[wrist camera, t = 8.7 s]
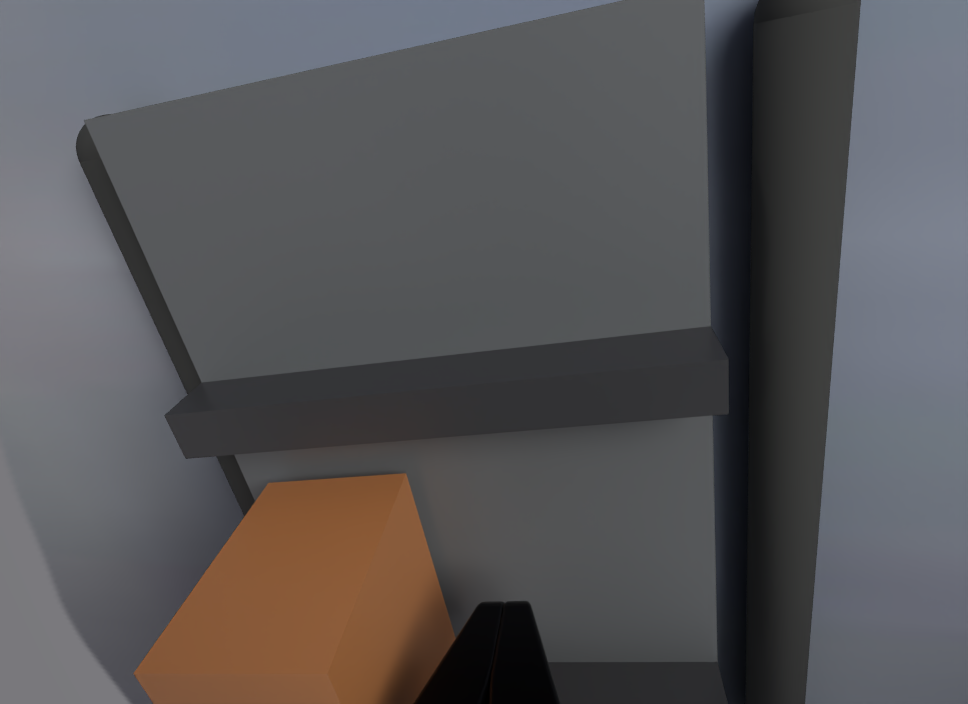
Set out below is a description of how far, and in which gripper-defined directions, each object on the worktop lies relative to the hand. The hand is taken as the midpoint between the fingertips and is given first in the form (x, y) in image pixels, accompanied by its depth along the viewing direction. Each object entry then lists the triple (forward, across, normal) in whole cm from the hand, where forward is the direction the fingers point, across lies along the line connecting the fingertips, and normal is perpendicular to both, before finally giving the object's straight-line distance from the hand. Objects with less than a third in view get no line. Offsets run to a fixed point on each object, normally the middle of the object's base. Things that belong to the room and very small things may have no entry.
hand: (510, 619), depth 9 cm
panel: (+4, +1, 0) cm, 4 cm away
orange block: (+1, +3, 0) cm, 3 cm away
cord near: (+4, -5, 0) cm, 6 cm away
